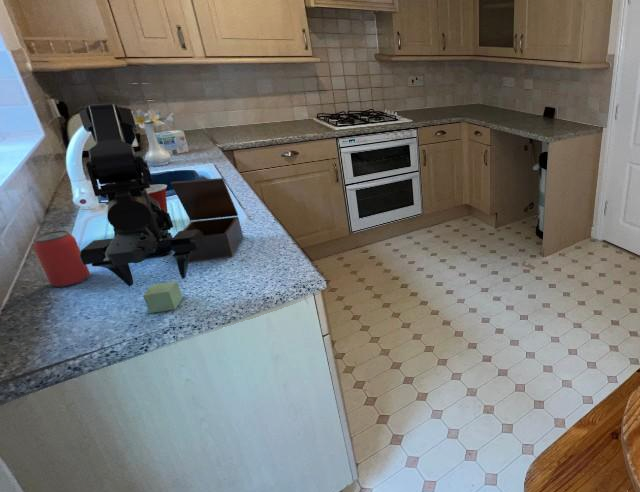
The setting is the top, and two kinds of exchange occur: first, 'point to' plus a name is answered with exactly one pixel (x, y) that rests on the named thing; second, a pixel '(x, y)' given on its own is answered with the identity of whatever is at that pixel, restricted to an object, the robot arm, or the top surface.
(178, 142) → the light bulb box
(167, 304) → the block
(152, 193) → the plastic cup
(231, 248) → the storage box
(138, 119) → the flower vase
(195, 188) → the box lid
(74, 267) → the beer can
